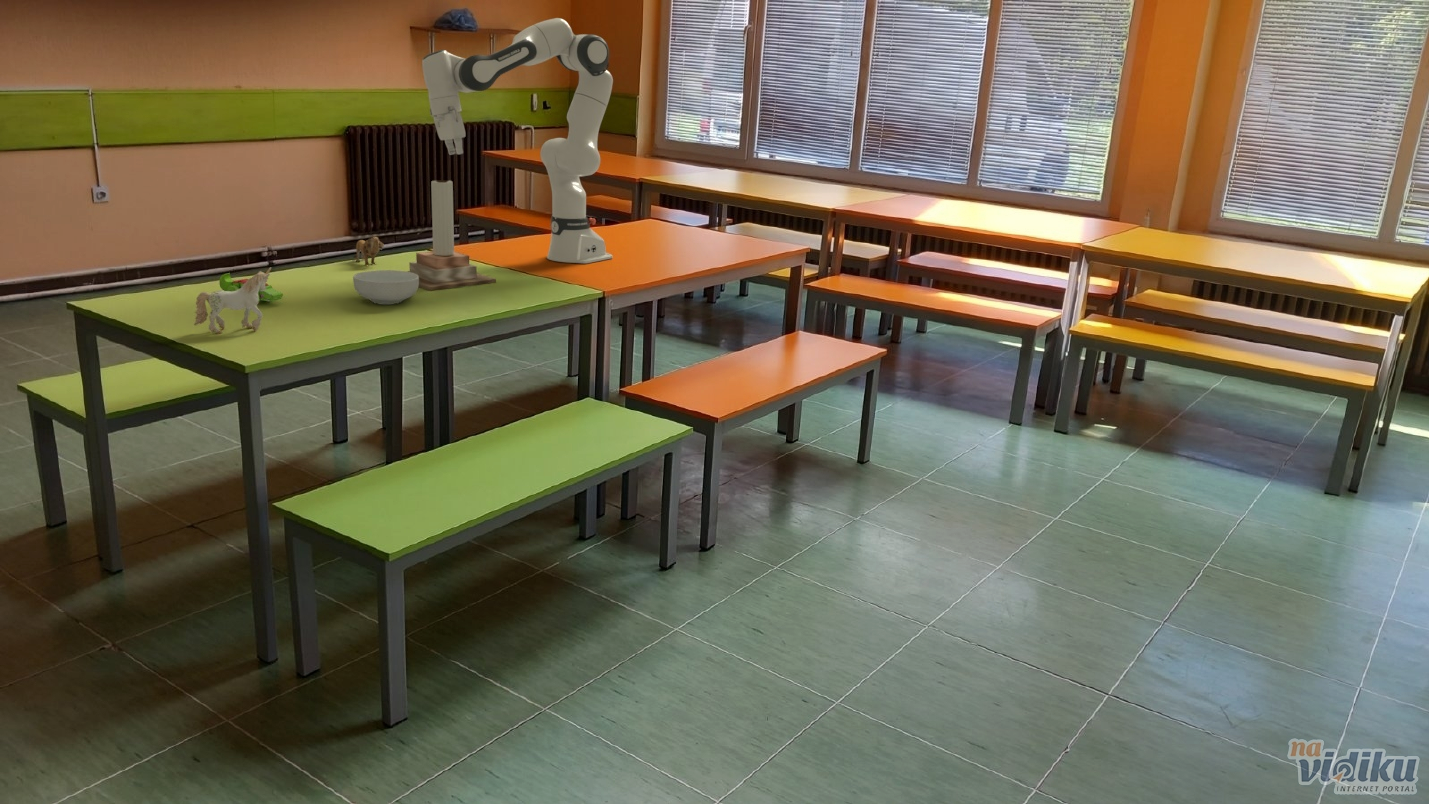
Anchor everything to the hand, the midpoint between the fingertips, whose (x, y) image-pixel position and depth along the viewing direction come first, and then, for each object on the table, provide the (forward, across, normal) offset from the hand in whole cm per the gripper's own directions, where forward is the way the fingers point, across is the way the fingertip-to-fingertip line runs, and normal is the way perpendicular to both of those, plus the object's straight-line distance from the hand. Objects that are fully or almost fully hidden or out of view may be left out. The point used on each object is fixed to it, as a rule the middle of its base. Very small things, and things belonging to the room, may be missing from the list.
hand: (456, 154), depth 319 cm
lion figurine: (+28, +15, +31) cm, 45 cm away
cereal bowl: (+34, -36, +36) cm, 61 cm away
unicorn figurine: (+29, -55, +73) cm, 96 cm away
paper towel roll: (+27, -14, +13) cm, 33 cm away
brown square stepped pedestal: (+34, -13, +15) cm, 39 cm away
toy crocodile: (+27, -28, +68) cm, 78 cm away
